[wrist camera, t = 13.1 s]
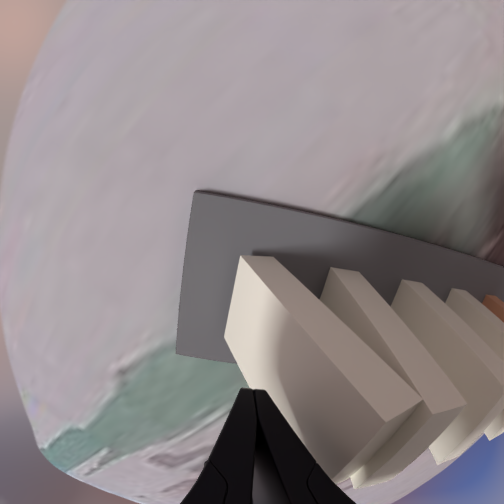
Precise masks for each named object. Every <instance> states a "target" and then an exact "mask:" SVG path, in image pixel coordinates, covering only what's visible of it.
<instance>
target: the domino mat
mask: <svg viewBox="0 0 504 504" xmlns="http://www.w3.org/2000/svg"><path fill="white" fill-rule="evenodd" d="M240 255H246V256H271V257H274V258H275V259H276V260H277V261H278V262H279V263H281V264H282V265H283V266H284V267H285V268H286V269H287V270H288V271H289V272H290V273H291V274H292V275H293V276H295V277H296V278H297V279H298V280H299V281H300V282H301V283H302V284H303V285H304V286H305V287H306V288H307V289H308V290H309V291H311V292H312V293H313V294H314V295H315V296H316V297H317V298H318V299H319V300H320V297H321V294H322V291H323V288H324V285H325V282H326V279H327V276H328V273H329V270H330V267H334V268H340V269H346V270H352V271H358V272H360V273H361V275H362V276H363V277H364V278H365V279H366V280H367V281H368V282H369V283H370V284H371V286H372V287H373V288H374V289H375V290H376V291H377V292H378V293H379V294H380V296H381V297H382V298H383V299H384V300H385V301H386V302H387V303H388V305H389V306H390V307H391V304H392V302H393V300H394V297H395V295H396V293H397V290H398V288H399V285H400V283H401V280H402V279H403V280H409V281H415V282H420V283H423V284H424V285H425V286H426V287H428V288H429V289H430V290H431V291H432V292H433V293H434V294H435V295H437V296H438V297H439V298H440V299H441V300H442V301H443V302H444V303H445V302H446V300H447V298H448V296H449V293H450V291H451V289H452V288H455V289H460V290H466V291H467V292H468V293H470V294H471V295H472V296H473V297H474V298H476V299H477V300H478V301H479V302H480V303H482V302H483V300H484V298H485V295H493V296H496V297H498V298H499V299H500V300H501V301H503V302H504V266H501V265H498V264H495V263H492V262H489V261H486V260H483V259H480V258H477V257H474V256H471V255H468V254H464V253H461V252H458V251H455V250H451V249H448V248H445V247H442V246H438V245H435V244H431V243H428V242H424V241H421V240H417V239H414V238H410V237H407V236H403V235H399V234H396V233H392V232H388V231H384V230H381V229H377V228H373V227H369V226H365V225H361V224H357V223H353V222H349V221H345V220H340V219H336V218H332V217H328V216H323V215H319V214H314V213H310V212H305V211H301V210H296V209H291V208H287V207H282V206H277V205H272V204H267V203H262V202H257V201H252V200H247V199H242V198H236V197H231V196H225V195H220V194H214V193H208V192H202V191H195V192H194V195H193V201H192V207H191V214H190V221H189V228H188V235H187V242H186V250H185V258H184V266H183V275H182V284H181V294H180V304H179V316H178V328H177V341H176V354H179V355H185V356H190V357H196V358H202V359H208V360H214V361H221V362H228V363H236V364H237V362H236V360H235V358H234V356H233V354H232V352H231V350H230V348H229V346H228V344H227V342H226V340H225V338H224V334H225V329H226V324H227V319H228V314H229V309H230V304H231V299H232V294H233V289H234V284H235V279H236V274H237V269H238V264H239V259H240Z"/></svg>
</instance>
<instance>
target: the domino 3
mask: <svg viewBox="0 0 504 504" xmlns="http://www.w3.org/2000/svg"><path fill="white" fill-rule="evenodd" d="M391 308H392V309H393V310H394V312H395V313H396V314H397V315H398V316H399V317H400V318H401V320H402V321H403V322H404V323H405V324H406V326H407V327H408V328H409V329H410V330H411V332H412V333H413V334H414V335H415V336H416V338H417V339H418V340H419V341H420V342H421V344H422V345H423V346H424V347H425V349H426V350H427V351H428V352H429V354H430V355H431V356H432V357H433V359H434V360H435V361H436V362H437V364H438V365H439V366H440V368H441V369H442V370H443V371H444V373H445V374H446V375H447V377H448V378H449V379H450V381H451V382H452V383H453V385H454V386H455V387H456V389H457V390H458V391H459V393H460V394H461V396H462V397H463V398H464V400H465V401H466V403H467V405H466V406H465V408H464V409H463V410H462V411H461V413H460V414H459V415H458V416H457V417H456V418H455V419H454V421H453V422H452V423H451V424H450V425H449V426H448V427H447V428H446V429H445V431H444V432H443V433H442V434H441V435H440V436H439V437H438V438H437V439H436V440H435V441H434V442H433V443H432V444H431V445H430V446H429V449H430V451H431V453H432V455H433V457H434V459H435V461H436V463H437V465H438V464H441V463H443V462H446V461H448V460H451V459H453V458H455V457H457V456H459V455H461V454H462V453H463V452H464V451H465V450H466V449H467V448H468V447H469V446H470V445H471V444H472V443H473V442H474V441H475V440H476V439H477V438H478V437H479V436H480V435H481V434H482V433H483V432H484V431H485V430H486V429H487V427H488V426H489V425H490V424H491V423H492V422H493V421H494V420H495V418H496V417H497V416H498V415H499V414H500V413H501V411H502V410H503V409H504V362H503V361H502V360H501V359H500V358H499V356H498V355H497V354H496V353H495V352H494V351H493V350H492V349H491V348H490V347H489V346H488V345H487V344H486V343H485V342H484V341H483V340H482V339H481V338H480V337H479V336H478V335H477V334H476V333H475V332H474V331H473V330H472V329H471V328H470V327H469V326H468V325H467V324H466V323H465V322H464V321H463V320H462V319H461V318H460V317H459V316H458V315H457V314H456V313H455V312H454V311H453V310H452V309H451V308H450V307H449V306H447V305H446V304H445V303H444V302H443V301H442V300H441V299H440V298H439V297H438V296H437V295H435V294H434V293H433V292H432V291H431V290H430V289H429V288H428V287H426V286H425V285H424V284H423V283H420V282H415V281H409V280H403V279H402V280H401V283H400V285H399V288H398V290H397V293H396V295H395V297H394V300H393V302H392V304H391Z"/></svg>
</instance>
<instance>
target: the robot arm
mask: <svg viewBox="0 0 504 504" xmlns="http://www.w3.org/2000/svg"><path fill="white" fill-rule="evenodd" d="M180 504H356V503H355V502H354V501H353V500H351V499H350V498H349V497H348V496H347V495H346V494H345V493H344V492H343V491H342V490H341V489H340V488H339V487H338V486H337V485H336V484H335V483H334V482H333V481H332V480H331V479H330V478H329V476H328V475H327V474H326V473H325V472H324V470H323V469H322V468H321V466H320V465H319V464H318V463H316V460H315V459H314V457H313V456H312V455H311V453H310V452H309V451H308V449H307V448H306V447H305V445H304V444H303V443H302V441H301V440H300V438H299V437H298V436H297V434H296V433H295V432H294V430H293V429H292V427H291V426H290V425H289V423H288V422H287V420H286V419H285V417H284V416H283V415H282V413H281V412H280V410H279V409H278V407H277V406H276V404H275V403H274V401H273V400H272V399H271V397H270V396H269V394H268V393H267V391H266V390H264V389H251V388H241V389H240V391H239V393H238V395H237V398H236V400H235V402H234V404H233V407H232V409H231V411H230V413H229V415H228V418H227V420H226V422H225V424H224V426H223V429H222V431H221V433H220V435H219V437H218V439H217V441H216V444H215V446H214V448H213V450H212V452H211V454H210V456H209V458H208V461H206V462H205V463H204V468H203V470H202V472H201V474H200V476H199V477H198V479H197V481H196V483H195V484H194V485H193V487H192V488H191V490H190V491H189V493H188V494H187V495H186V497H185V498H184V499H183V500H182V502H181V503H180Z"/></svg>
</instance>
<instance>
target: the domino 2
mask: <svg viewBox="0 0 504 504" xmlns="http://www.w3.org/2000/svg"><path fill="white" fill-rule="evenodd" d="M320 301H321V302H322V303H323V304H324V305H325V306H327V307H328V308H329V309H330V310H331V311H332V312H333V313H334V314H335V315H336V316H337V317H338V318H339V319H340V320H341V321H342V322H343V323H344V324H346V325H347V326H348V327H349V328H350V329H351V330H352V331H353V332H354V333H355V334H356V335H357V336H358V337H359V338H360V339H361V340H362V341H363V342H364V343H366V344H367V345H368V346H369V347H370V348H371V349H372V350H373V351H374V352H375V353H376V354H377V355H378V356H379V357H380V358H381V359H382V360H383V361H384V362H385V363H386V364H387V365H389V366H390V367H391V368H392V369H393V370H394V371H395V372H396V373H397V374H398V375H399V376H400V377H401V378H402V379H403V380H404V381H405V382H406V383H407V384H408V385H409V386H410V387H411V388H412V389H413V390H414V391H415V392H416V393H417V394H419V395H420V396H421V397H422V398H423V400H422V401H421V403H420V404H419V405H418V407H417V408H416V409H415V410H414V412H413V413H412V414H411V415H410V416H409V418H408V419H407V420H406V421H405V422H404V424H403V425H402V426H401V427H400V428H399V429H398V430H397V432H396V433H395V434H394V435H393V436H392V437H391V438H390V439H389V440H388V441H387V443H386V444H385V445H384V446H383V447H382V448H381V449H380V450H379V451H378V452H377V453H376V454H375V455H374V456H373V457H372V458H371V459H370V460H369V461H368V462H367V463H366V464H364V465H363V466H362V467H361V468H360V469H359V470H358V471H357V472H356V473H355V474H354V475H352V476H351V477H350V478H351V481H352V484H353V487H354V490H355V489H359V488H364V487H368V486H372V485H376V484H379V483H383V482H386V481H390V480H391V479H393V478H394V477H395V476H396V475H398V474H399V473H400V472H401V471H402V470H404V469H405V468H406V467H407V466H408V465H409V464H411V463H412V462H413V461H414V460H415V459H416V458H417V457H418V456H419V455H421V454H422V453H423V452H424V451H425V450H426V449H427V448H428V447H429V446H430V445H431V444H432V443H433V442H434V441H435V440H436V439H437V438H438V437H439V436H440V435H441V434H442V433H443V432H444V431H445V429H446V428H447V427H448V426H449V425H450V424H451V423H452V422H453V421H454V419H455V418H456V417H457V416H458V415H459V414H460V413H461V411H462V410H463V409H464V408H465V406H466V405H467V403H466V401H465V400H464V398H463V397H462V396H461V394H460V393H459V391H458V390H457V389H456V387H455V386H454V385H453V383H452V382H451V381H450V379H449V378H448V377H447V375H446V374H445V373H444V371H443V370H442V369H441V368H440V366H439V365H438V364H437V362H436V361H435V360H434V359H433V357H432V356H431V355H430V354H429V352H428V351H427V350H426V349H425V347H424V346H423V345H422V344H421V342H420V341H419V340H418V339H417V338H416V336H415V335H414V334H413V333H412V332H411V330H410V329H409V328H408V327H407V326H406V324H405V323H404V322H403V321H402V320H401V318H400V317H399V316H398V315H397V314H396V313H395V312H394V310H393V309H392V308H391V307H390V306H389V305H388V303H387V302H386V301H385V300H384V299H383V298H382V297H381V296H380V294H379V293H378V292H377V291H376V290H375V289H374V288H373V287H372V286H371V284H370V283H369V282H368V281H367V280H366V279H365V278H364V277H363V276H362V275H361V273H360V272H358V271H352V270H346V269H340V268H334V267H330V270H329V273H328V276H327V279H326V282H325V285H324V288H323V291H322V294H321V297H320Z"/></svg>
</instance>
